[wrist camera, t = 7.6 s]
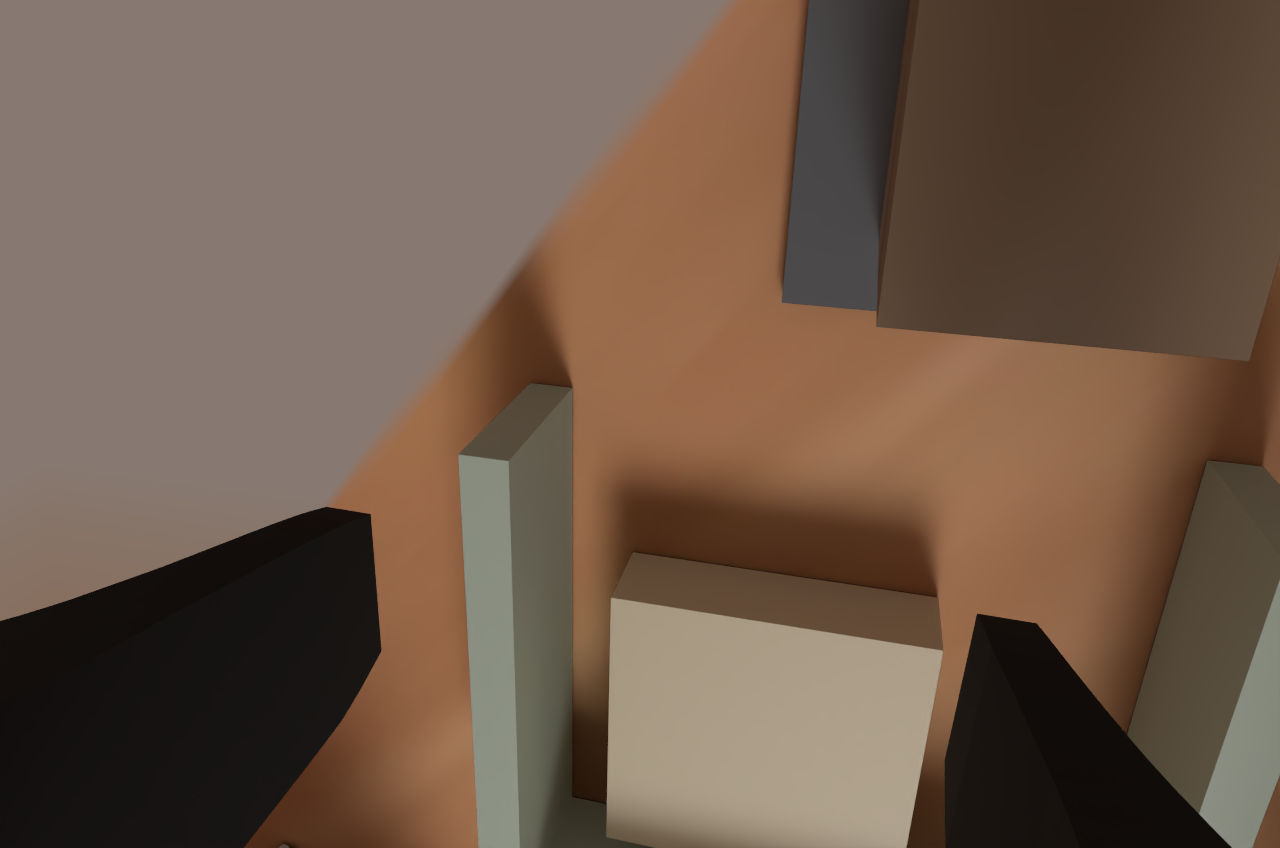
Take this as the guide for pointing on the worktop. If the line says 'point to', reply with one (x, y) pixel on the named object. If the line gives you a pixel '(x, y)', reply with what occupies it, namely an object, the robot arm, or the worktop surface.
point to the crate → (805, 674)
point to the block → (1085, 173)
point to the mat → (843, 151)
